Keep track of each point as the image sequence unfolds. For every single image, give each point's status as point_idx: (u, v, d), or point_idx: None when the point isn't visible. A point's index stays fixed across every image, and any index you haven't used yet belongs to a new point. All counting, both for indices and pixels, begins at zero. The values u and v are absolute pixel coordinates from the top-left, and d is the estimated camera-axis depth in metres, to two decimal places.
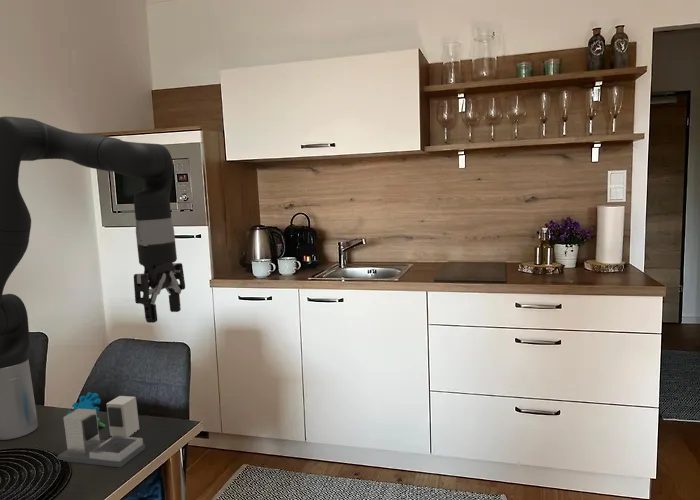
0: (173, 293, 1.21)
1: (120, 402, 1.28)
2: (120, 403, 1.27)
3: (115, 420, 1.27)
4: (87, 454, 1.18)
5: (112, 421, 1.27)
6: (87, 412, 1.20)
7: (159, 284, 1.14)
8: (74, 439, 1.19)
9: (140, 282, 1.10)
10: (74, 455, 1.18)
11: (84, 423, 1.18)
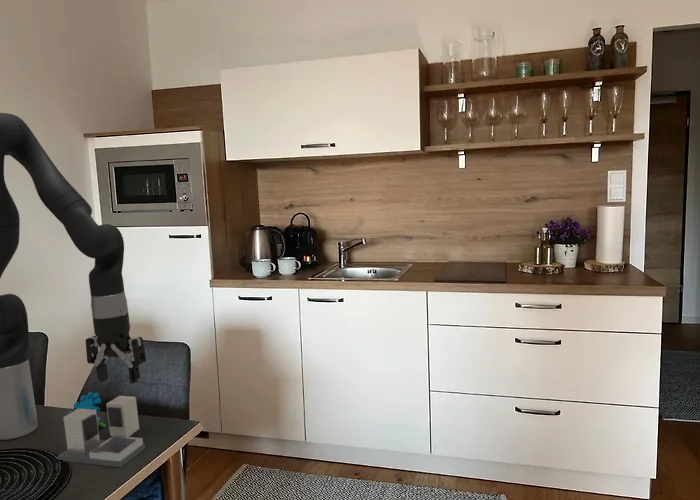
0: (102, 363, 1.29)
1: (120, 402, 1.28)
2: (119, 403, 1.27)
3: (115, 420, 1.27)
4: (87, 454, 1.18)
5: (112, 421, 1.27)
6: (87, 412, 1.20)
7: None
8: (74, 439, 1.19)
9: (140, 344, 1.25)
10: (74, 455, 1.18)
11: (84, 423, 1.18)
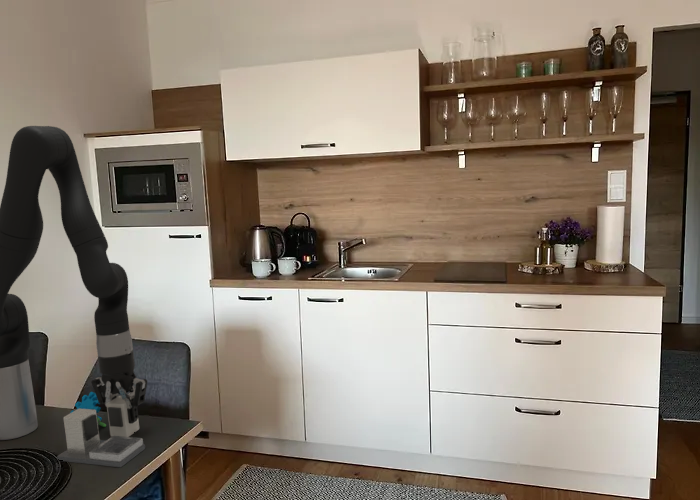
0: None
1: (120, 402, 1.28)
2: (120, 402, 1.27)
3: (115, 420, 1.27)
4: (87, 454, 1.18)
5: (112, 421, 1.27)
6: (87, 412, 1.20)
7: None
8: (74, 439, 1.19)
9: (144, 387, 1.27)
10: (74, 455, 1.18)
11: (84, 423, 1.18)
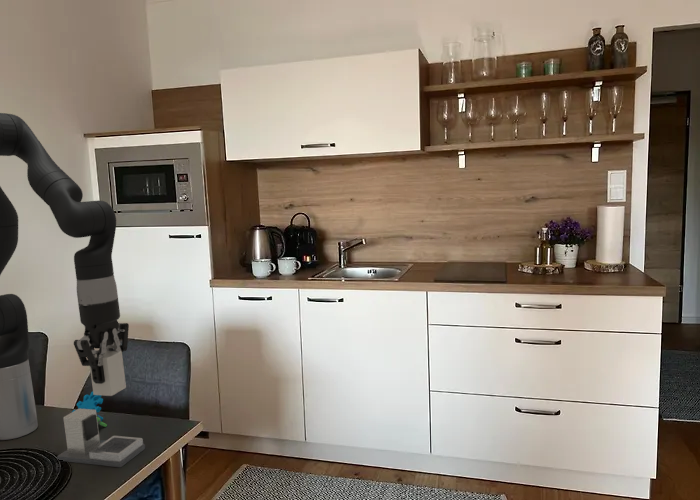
0: None
1: None
2: (96, 355, 1.16)
3: None
4: (87, 454, 1.18)
5: None
6: (87, 412, 1.20)
7: (102, 345, 1.13)
8: (74, 439, 1.19)
9: (81, 349, 1.09)
10: (74, 455, 1.18)
11: (84, 423, 1.18)
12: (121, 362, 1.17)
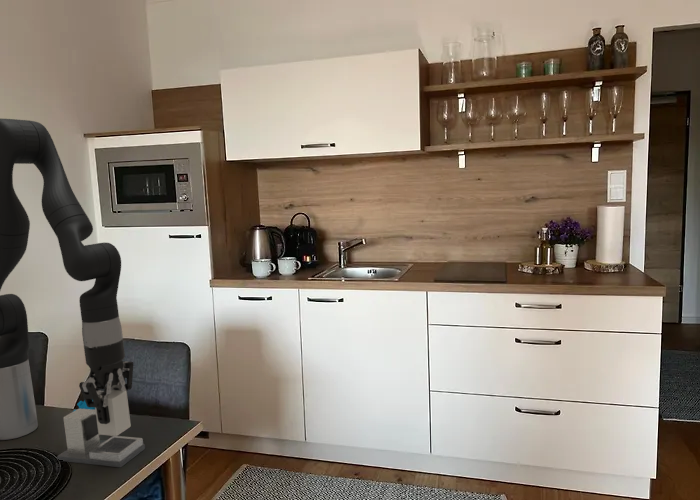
0: None
1: None
2: (101, 395, 1.17)
3: None
4: (87, 454, 1.18)
5: None
6: (87, 412, 1.20)
7: (107, 386, 1.14)
8: (74, 439, 1.19)
9: (87, 391, 1.10)
10: (74, 455, 1.18)
11: (84, 423, 1.18)
12: (126, 401, 1.18)
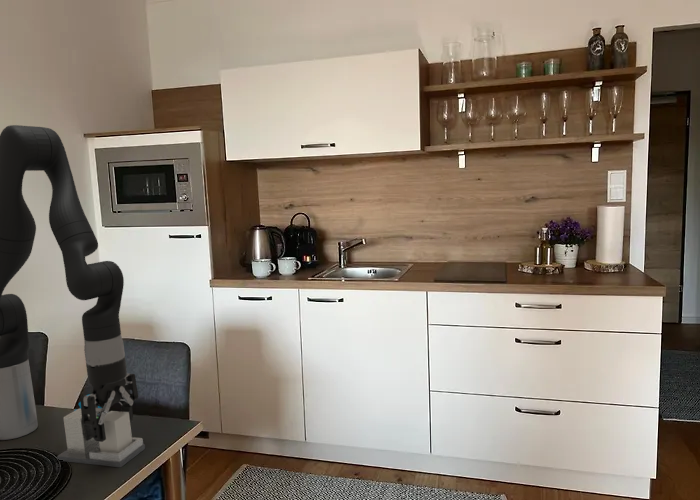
0: (125, 405, 1.21)
1: (105, 417, 1.17)
2: None
3: None
4: (87, 454, 1.18)
5: None
6: None
7: (107, 403, 1.14)
8: (74, 439, 1.19)
9: (87, 405, 1.10)
10: (74, 455, 1.18)
11: None
12: (128, 423, 1.19)
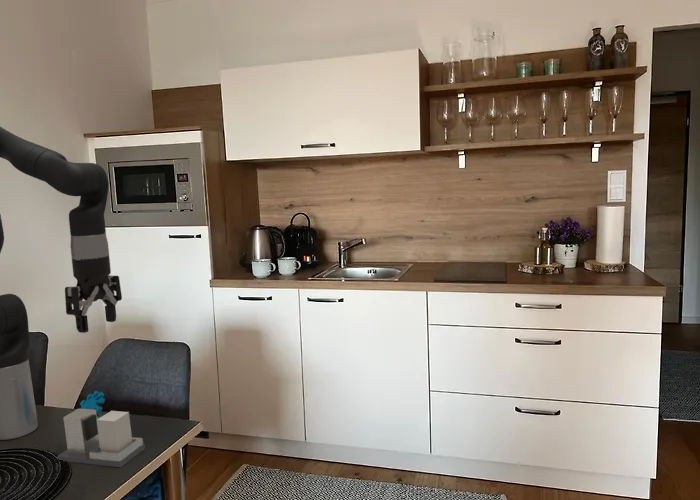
0: (109, 304, 1.28)
1: (105, 417, 1.17)
2: (104, 417, 1.17)
3: None
4: (87, 454, 1.18)
5: None
6: (87, 412, 1.20)
7: (91, 296, 1.20)
8: (74, 439, 1.19)
9: (70, 295, 1.16)
10: (74, 455, 1.18)
11: (84, 423, 1.18)
12: (128, 423, 1.19)
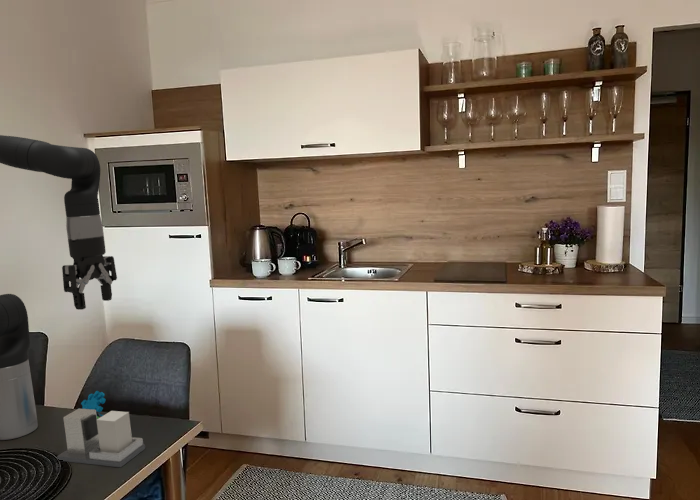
0: (104, 283, 1.33)
1: (105, 417, 1.17)
2: (104, 417, 1.17)
3: None
4: (87, 454, 1.18)
5: None
6: (87, 412, 1.20)
7: (87, 275, 1.26)
8: (74, 439, 1.19)
9: (68, 273, 1.22)
10: (74, 455, 1.18)
11: (84, 423, 1.18)
12: (128, 423, 1.19)
